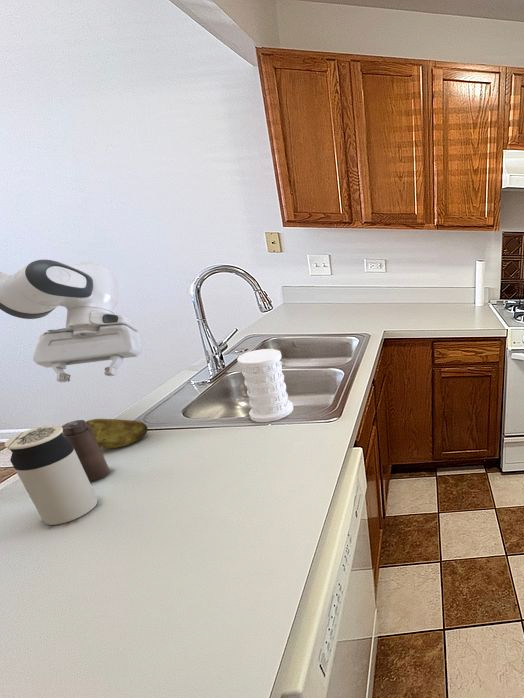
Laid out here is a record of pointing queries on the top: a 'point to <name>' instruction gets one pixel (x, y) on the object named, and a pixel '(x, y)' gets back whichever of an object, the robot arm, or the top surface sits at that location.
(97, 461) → the pepper mill
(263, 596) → the top surface
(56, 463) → the travel mug
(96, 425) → the green pickle
